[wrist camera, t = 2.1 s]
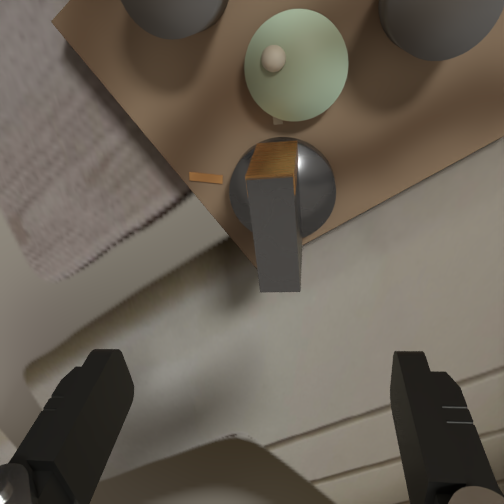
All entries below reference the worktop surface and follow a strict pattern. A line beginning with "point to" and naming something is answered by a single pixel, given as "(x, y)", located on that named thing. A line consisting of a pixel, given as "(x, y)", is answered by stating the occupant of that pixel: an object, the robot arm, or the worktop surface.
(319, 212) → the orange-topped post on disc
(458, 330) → the worktop surface
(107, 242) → the worktop surface
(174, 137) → the tribrach base
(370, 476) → the worktop surface
